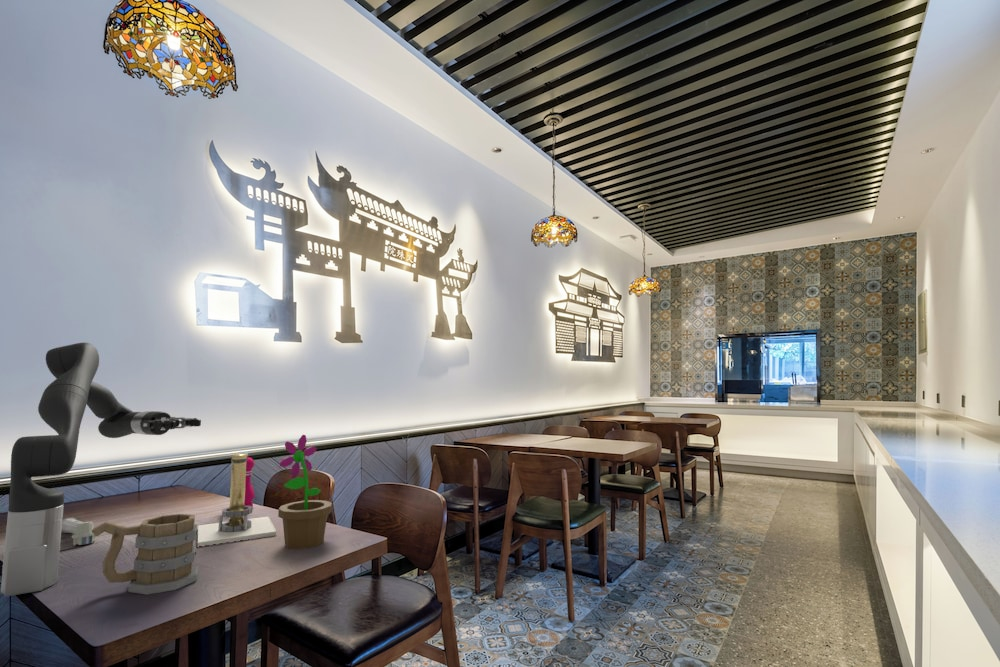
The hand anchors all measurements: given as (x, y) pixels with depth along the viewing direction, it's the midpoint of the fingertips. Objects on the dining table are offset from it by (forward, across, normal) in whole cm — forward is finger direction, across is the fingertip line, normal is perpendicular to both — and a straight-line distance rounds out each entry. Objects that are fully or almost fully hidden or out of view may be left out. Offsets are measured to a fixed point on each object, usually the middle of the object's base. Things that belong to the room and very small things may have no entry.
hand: (187, 423), depth 155 cm
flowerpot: (+44, +3, +33) cm, 55 cm away
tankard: (+32, -33, +33) cm, 56 cm away
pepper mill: (-5, +28, +33) cm, 43 cm away
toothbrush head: (-25, -14, +33) cm, 44 cm away
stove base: (+17, +5, +33) cm, 37 cm away
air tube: (+17, +5, +32) cm, 36 cm away
